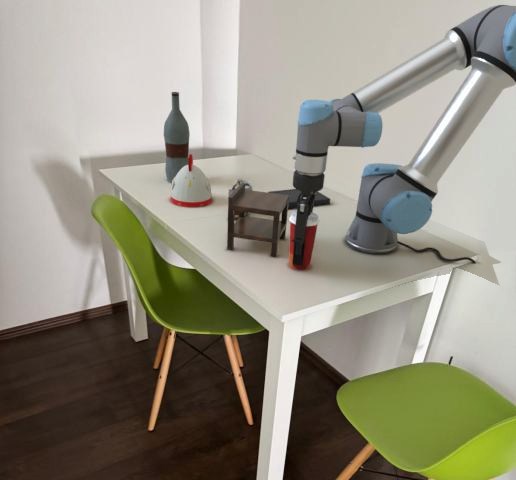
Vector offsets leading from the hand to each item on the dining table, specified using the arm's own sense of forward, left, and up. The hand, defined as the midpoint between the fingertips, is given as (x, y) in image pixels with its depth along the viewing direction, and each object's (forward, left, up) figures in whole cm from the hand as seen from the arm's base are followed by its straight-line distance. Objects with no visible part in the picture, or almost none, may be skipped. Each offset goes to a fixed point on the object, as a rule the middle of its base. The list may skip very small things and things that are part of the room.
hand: (299, 258), depth 135 cm
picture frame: (+9, -52, -2) cm, 53 cm away
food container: (+24, -30, -2) cm, 39 cm away
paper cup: (0, 0, -2) cm, 2 cm away
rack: (+14, -10, -2) cm, 17 cm away
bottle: (+56, -57, -2) cm, 80 cm away
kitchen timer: (+44, -38, -2) cm, 58 cm away
